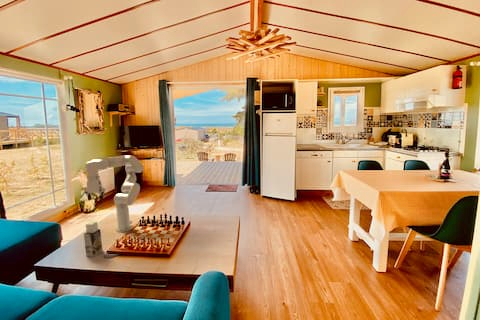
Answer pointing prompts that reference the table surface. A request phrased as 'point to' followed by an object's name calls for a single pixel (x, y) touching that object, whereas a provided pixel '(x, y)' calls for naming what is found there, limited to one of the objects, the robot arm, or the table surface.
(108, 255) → the grey round disc
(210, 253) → the table surface
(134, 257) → the table surface
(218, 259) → the table surface
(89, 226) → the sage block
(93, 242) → the coffee box
